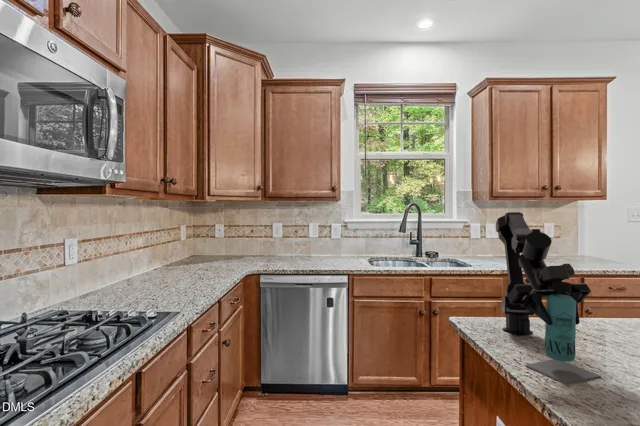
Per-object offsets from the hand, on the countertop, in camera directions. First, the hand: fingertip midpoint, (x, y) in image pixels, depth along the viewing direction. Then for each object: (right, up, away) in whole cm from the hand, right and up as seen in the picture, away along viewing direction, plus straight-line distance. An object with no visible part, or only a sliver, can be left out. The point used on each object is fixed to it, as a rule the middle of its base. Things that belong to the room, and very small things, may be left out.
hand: (564, 324), depth 89 cm
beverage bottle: (0, -10, +1) cm, 10 cm away
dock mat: (0, -12, +1) cm, 12 cm away
